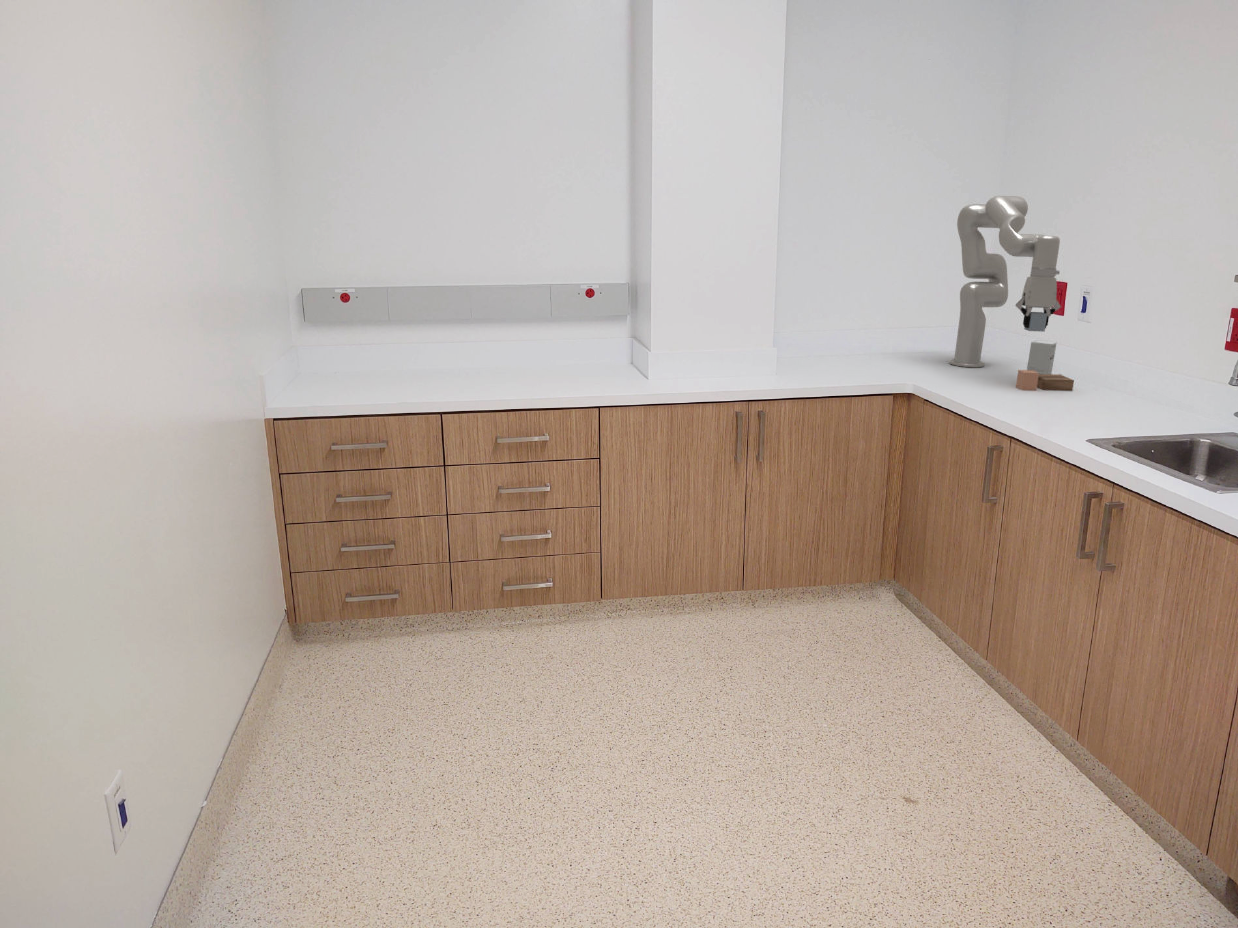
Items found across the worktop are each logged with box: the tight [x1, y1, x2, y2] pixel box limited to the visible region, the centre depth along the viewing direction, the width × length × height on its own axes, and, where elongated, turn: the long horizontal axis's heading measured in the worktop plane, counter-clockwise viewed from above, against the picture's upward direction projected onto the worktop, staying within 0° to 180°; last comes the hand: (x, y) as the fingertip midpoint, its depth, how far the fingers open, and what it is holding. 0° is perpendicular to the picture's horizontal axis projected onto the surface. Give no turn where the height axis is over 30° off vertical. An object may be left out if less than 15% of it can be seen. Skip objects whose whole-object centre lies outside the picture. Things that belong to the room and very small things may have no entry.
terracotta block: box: [1015, 369, 1039, 391], centre depth 311 cm, size 5×5×6 cm
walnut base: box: [1037, 373, 1075, 392], centre depth 315 cm, size 10×10×4 cm
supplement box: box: [1026, 339, 1057, 374], centre depth 334 cm, size 7×7×13 cm
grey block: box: [1023, 311, 1047, 332], centre depth 313 cm, size 5×5×6 cm
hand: (1034, 327), depth 313 cm, fingers closed on grey block, 4 cm apart
